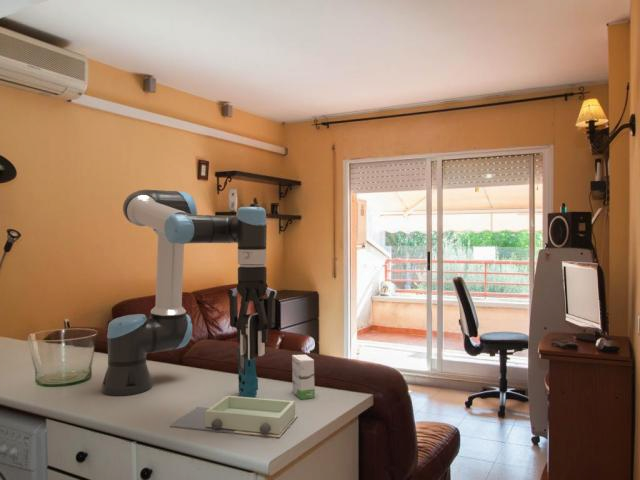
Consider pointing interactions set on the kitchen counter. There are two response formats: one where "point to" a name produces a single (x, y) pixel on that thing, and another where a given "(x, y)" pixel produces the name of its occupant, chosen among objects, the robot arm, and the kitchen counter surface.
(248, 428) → the shallow sage green tray
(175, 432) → the kitchen counter surface
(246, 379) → the handheld gaming console
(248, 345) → the battery charger
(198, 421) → the track
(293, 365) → the ink box
